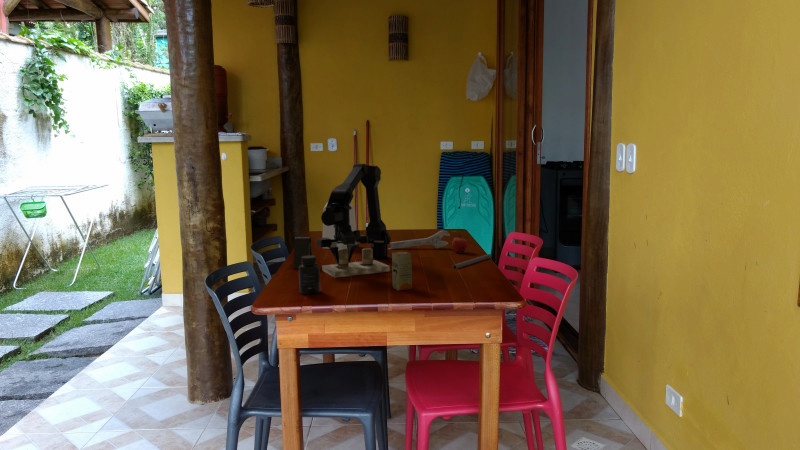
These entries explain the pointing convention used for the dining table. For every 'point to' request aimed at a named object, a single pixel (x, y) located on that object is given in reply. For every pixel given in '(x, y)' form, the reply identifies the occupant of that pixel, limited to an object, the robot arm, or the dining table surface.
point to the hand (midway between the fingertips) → (343, 263)
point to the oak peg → (343, 258)
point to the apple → (459, 244)
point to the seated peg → (367, 257)
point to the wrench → (422, 241)
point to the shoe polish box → (402, 270)
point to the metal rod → (471, 261)
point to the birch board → (355, 269)
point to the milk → (330, 230)
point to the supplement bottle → (309, 276)
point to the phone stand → (301, 250)
